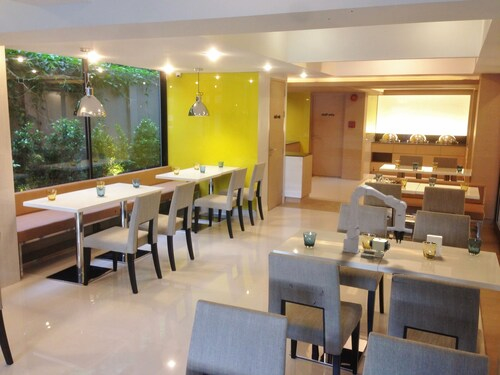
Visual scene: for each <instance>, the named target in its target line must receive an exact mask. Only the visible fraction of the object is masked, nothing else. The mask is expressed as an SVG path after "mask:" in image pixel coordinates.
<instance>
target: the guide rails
mask: <svg viewBox="0 0 500 375" xmlns="http://www.w3.org/2000/svg"><path fill="white" fill-rule="evenodd" d="M375 252H376V250H366V249H363V253H364V254H362V253H361V254H360V258H364V259H365V258H366V259H374V258H375V255H374V253H375ZM369 254H372V255H369Z"/></svg>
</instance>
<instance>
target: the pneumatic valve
mask: <svg viewBox="0 0 500 375" xmlns="http://www.w3.org/2000/svg"><path fill="white" fill-rule="evenodd" d="M368 244H369V247H370V248H371V251H375V253H374V254H373V256H374V258H379V259H381V258H384V257H385V256H384V254H385V253H386V252H387V251H389V250H390V249H391V243H390V242H389V240H387V239H381V237H380V238H372V239H370V240H369V243H368Z"/></svg>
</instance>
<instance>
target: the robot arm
mask: <svg viewBox="0 0 500 375" xmlns="http://www.w3.org/2000/svg"><path fill="white" fill-rule="evenodd" d="M364 196H373V197H376V198H377V199H379V200H381V201H383V202H384V204H385V205H387V206H389V207H390V208H393V209H394V210H395V217H394V218H395V219H394V220H395V221H394V226H386V231H387V232H388V231H392V232H393V235H394V238H395V241H396V242H395V243H396V244H398V243H399V244H401V243H402V239H403V237H404V235H405V233H409V234H412V233H413V229H412V228H406V210H407V208H408V204H407V202H405V200H401V199H398V198H395V197H394V196H393V195H392V194H391V195H389V194H388V195H385V194H384V193H382V192H381V191H378V190H377V189H376V188H374V187H372V186H369V185H368V184H362V185H360V186H357V187H356V188H355V189H354V190H353V192H352V194H351V195H350V206H349V224H348V227H347V228H348V229H347V230H346V232H345V233H346V236H347V237H343V246H342V252H344V253H352V254H358V253H359V252H360V251H361V250H360V249H359V245H360V244H359V243H360V235H361V229H360V224H359V211H360V210H359V207H360V206H359V205H360V203H359V202H360V199H361V198H362V197H364Z"/></svg>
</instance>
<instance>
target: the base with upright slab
mask: <svg viewBox="0 0 500 375" xmlns="http://www.w3.org/2000/svg"><path fill="white" fill-rule="evenodd" d="M427 242H433V243H436V244H437V245H438V246H437V249H436V256H435V257H441V256H442V246H443V236H442V235H434V234H427V235H426V243H427Z"/></svg>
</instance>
